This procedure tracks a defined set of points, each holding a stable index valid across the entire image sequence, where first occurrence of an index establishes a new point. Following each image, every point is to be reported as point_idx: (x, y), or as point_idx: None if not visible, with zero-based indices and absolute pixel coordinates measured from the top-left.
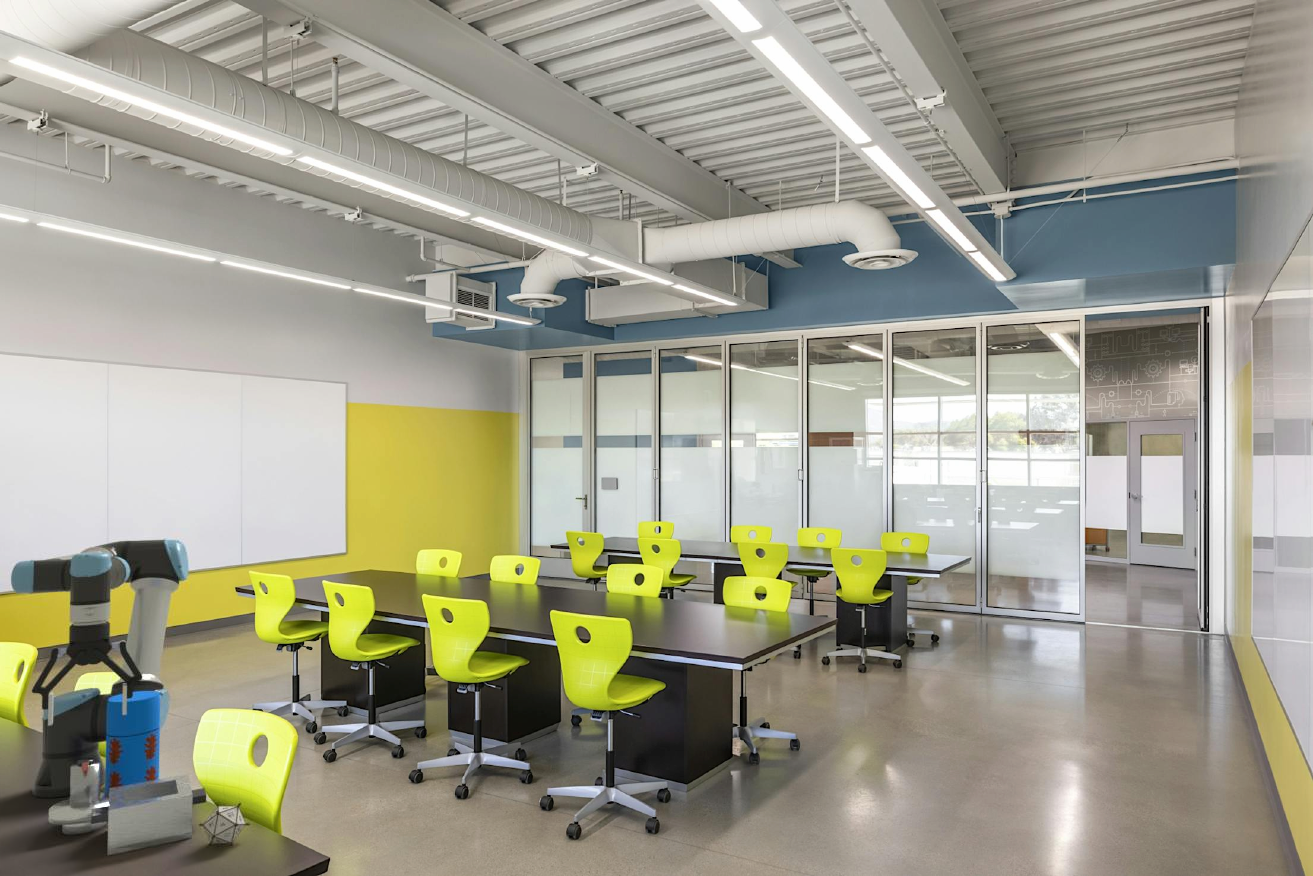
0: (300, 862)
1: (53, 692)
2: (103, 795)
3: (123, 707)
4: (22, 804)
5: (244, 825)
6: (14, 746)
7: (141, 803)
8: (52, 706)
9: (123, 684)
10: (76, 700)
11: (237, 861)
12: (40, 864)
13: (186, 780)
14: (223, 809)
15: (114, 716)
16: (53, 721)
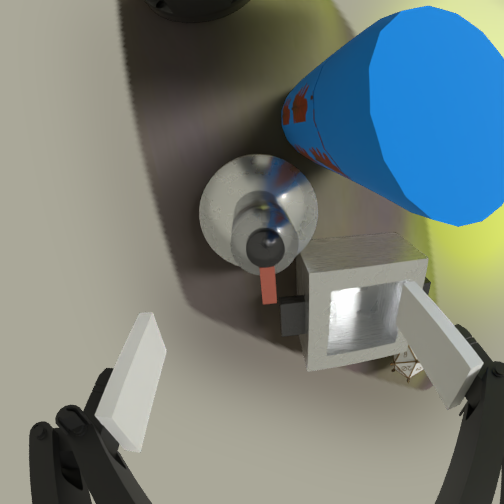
0: (425, 387)
1: (114, 420)
2: (288, 181)
3: (409, 342)
4: (135, 36)
5: None
6: None
7: (348, 362)
8: (151, 407)
9: (462, 387)
10: None
11: (396, 377)
12: (223, 321)
13: None
14: (416, 370)
15: (369, 183)
16: None
